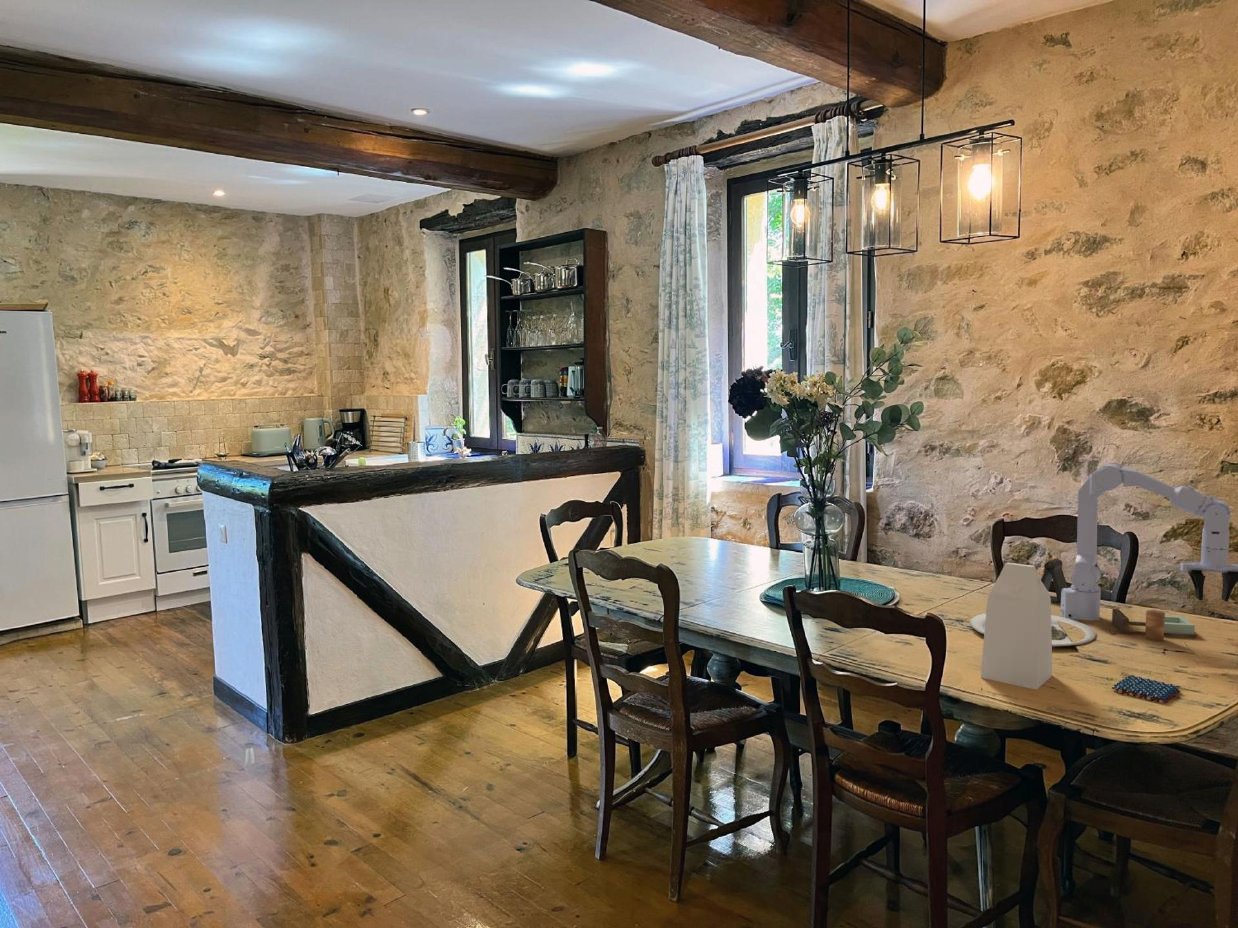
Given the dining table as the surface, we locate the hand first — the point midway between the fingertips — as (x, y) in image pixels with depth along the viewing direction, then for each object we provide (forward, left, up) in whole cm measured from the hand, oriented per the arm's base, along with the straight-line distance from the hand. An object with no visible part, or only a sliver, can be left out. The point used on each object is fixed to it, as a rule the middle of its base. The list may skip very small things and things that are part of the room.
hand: (1212, 599), depth 221 cm
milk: (-52, -41, -10) cm, 67 cm away
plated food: (-43, -5, -10) cm, 45 cm away
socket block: (-9, 0, -9) cm, 13 cm away
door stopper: (-31, +32, -10) cm, 46 cm away
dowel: (-15, -8, -9) cm, 19 cm away
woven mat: (-27, -45, -11) cm, 54 cm away
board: (-13, -3, -10) cm, 17 cm away
